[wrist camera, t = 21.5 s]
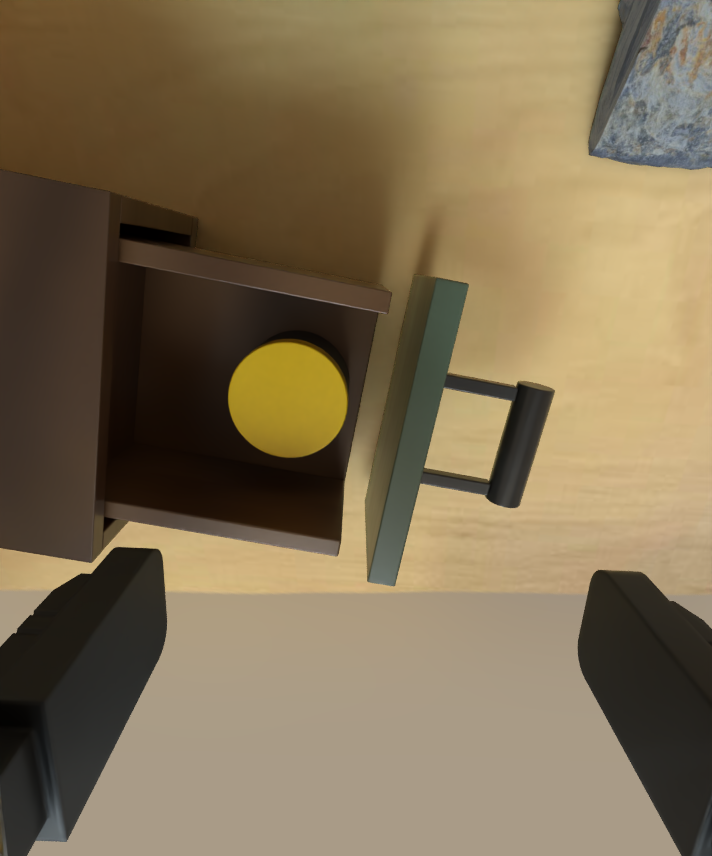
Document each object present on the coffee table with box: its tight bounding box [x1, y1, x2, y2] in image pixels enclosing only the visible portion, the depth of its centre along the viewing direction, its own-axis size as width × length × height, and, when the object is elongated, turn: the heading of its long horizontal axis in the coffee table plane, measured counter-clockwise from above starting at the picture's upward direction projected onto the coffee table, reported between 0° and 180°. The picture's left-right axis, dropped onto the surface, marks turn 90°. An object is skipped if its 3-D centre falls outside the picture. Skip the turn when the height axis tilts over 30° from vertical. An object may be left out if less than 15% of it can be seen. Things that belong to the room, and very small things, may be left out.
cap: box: [228, 330, 349, 458], centre depth 25 cm, size 5×5×4 cm
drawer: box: [104, 234, 555, 586], centre depth 24 cm, size 20×13×8 cm, turn 79°
